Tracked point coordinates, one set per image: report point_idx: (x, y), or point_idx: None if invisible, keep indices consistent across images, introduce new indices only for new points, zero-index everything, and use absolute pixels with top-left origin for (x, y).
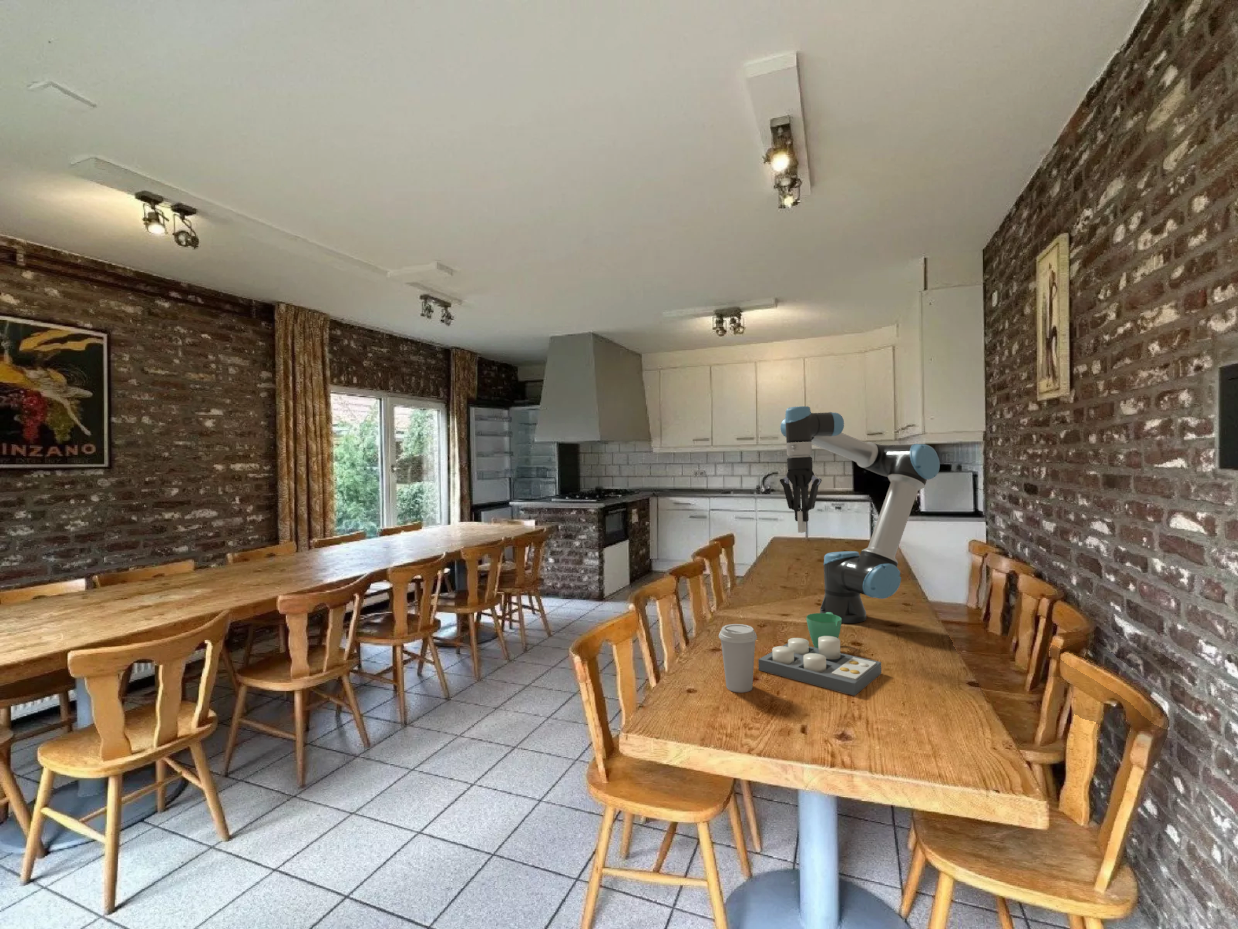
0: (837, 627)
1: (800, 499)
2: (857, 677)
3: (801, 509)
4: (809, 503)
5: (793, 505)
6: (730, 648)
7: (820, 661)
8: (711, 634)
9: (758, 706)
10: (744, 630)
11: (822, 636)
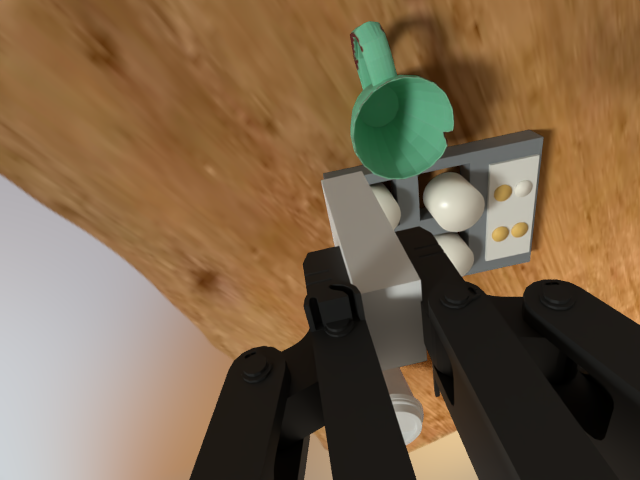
0: (443, 128)
1: (406, 448)
2: (529, 243)
3: (350, 285)
4: (589, 425)
5: (303, 421)
6: None
7: (469, 268)
8: (103, 224)
9: (425, 363)
10: (404, 424)
11: (439, 206)
